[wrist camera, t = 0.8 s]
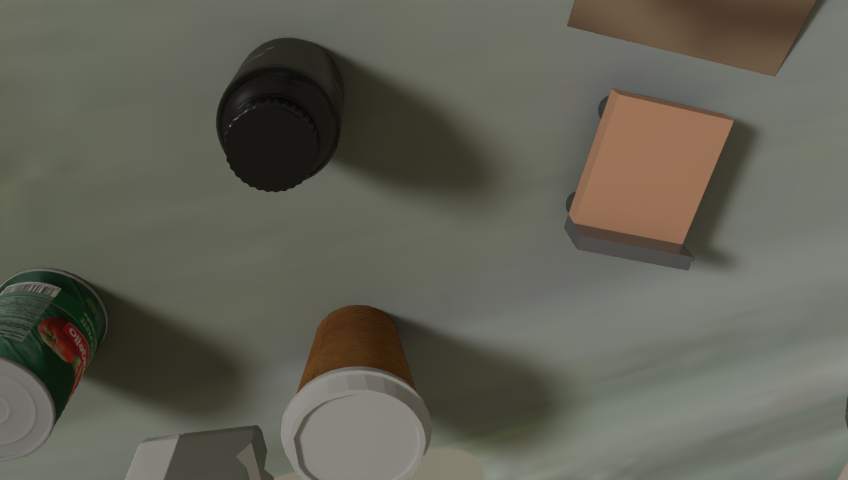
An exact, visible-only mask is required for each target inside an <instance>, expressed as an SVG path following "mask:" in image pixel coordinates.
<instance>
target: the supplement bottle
mask: <svg viewBox="0 0 848 480" xmlns="http://www.w3.org/2000/svg"><path fill="white" fill-rule="evenodd" d="M343 102H344V87H343V82H342V78H341V75H340V72H339V70H338V68H337V66H336V64H335V63H334V61H333V60H332V59H331V58H330V56H329V55H328V54H327V53H326V52H324V51H323V50H322V49H321V48H319V47H318V46H316V45H314V44H312V43H310V42H308V41H305V40H301V39H297V38H279V39H274V40H271V41H268V42H266V43H264V44H262V45H260V46H259V47H258V48H256V49H255V50H254V51H253V52H251V54H250V55H249V56H248V57H247V58H246V60H245V61H244V62H243V64H242V65H241V67H240V68H239V70H238V72H237V73H236V75H235V76H234V78H233V79H232V81H231V83H230V84H229V86H228V87H227V89H226V91H225V92H224V94H223V96H222V98H221V100H220V103H219V106H218V110H217V117H216V127H217V134H218V138H219V141H220V144H221V146H222V149H223V150H224V152H225V154H226V156H227V162H228V163H229V164H230V169H232V170H233V171H234V172H235V175H236V176H237V177H239V178H240V179H241V180H242V182H244V183H247V184H248V185H249V186H250V187H255V188H256V189H258V190H264V191H266V192H270V191H273V192H279V191H286V190H287V189H289V188H294V187H295V186H296V185H298V184H301V183H302V182H303V181H304V180H307V179H309V178H311V177H312V176H314V175H316V174H317V173H318V172H320V171H321V170H322V169H323V168H324V167H325V166H326V165H327V164H328V162H329V161H330V160H331V158H332V157H333V155H334V153H335V150H336V148H337V145H338V142H339V137H340V131H341V121H342V112H343Z"/></svg>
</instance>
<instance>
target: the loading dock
mask: <svg viewBox="0 0 848 480" xmlns="http://www.w3.org/2000/svg"><path fill="white" fill-rule="evenodd" d="M815 2H816V0H575V2H574V5H573V9H572V12H571V15H570V18H569V21H568V25H567V26H569V27H573V28H577V29H581V30H585V31H589V32H593V33H598V34H602V35H606V36H610V37H614V38H618V39H622V40H626V41H630V42H635V43H639V44H643V45H647V46H651V47H655V48H659V49H663V50H667V51H672V52H676V53H680V54H684V55H688V56H692V57H696V58H700V59H705V60H709V61H713V62H717V63H721V64H725V65H729V66H733V67H737V68H742V69H746V70H750V71H754V72H758V73H762V74H766V75H770V76H775V75H776V73H777V71H778V70H779V68H780V66H781V64H782V62H783V60H784V59H785V57H786V55H787V53H788V51H789V50H790V48H791V46H792V44H793V42H794V40H795V39H796V37H797V35H798V33H799V31H800V29H801V28H802V26H803V24H804V22H805V20H806V19H807V17H808V15H809V13H810V11H811V9H812V8H813V6H814V4H815Z"/></svg>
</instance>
